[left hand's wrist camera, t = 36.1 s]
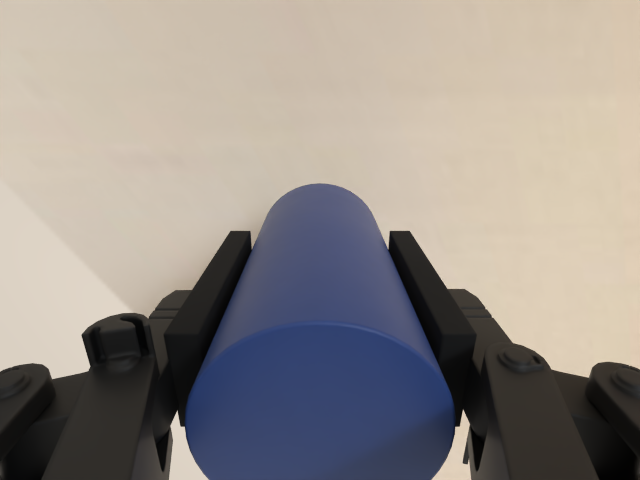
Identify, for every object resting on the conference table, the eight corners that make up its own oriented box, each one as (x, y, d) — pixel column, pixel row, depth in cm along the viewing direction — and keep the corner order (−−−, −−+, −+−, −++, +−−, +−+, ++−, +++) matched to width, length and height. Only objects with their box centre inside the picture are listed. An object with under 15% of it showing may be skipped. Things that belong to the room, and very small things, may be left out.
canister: (397, 258, 17) (498, 469, 8) (301, 308, 18) (281, 552, 9) (341, 159, 16) (377, 269, 6) (238, 221, 17) (125, 401, 7)
